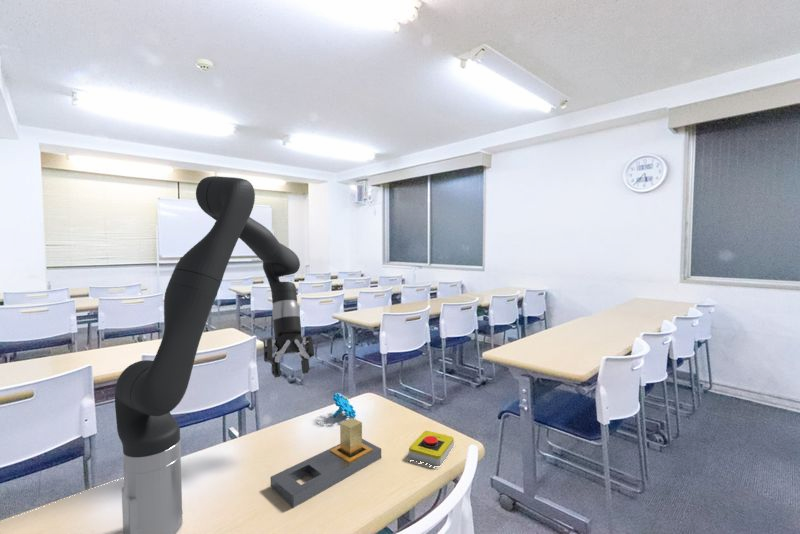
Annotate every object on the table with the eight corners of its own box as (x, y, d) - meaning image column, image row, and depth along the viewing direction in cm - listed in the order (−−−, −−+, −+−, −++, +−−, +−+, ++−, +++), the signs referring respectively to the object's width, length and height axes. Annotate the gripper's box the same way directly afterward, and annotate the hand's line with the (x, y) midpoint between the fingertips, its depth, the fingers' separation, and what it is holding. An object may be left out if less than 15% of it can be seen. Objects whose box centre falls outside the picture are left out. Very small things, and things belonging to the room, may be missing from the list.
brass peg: (350, 466, 94) (349, 427, 94) (340, 460, 97) (340, 422, 97) (362, 459, 97) (361, 422, 97) (352, 454, 100) (352, 417, 99)
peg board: (293, 507, 79) (293, 494, 79) (270, 487, 86) (270, 475, 86) (381, 457, 98) (381, 447, 98) (356, 444, 105) (356, 434, 105)
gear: (354, 419, 117) (332, 395, 118) (340, 432, 117) (319, 409, 118) (360, 409, 128) (340, 388, 129) (348, 421, 128) (328, 400, 129)
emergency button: (404, 446, 97) (427, 422, 110) (404, 462, 97) (427, 437, 110) (437, 455, 92) (457, 429, 105) (437, 472, 92) (457, 444, 106)
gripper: (269, 315, 100) (274, 376, 96) (314, 314, 110) (321, 370, 106) (256, 321, 105) (261, 380, 100) (301, 320, 115) (307, 373, 111)
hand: (292, 375), depth 103 cm, fingers open, 8 cm apart
